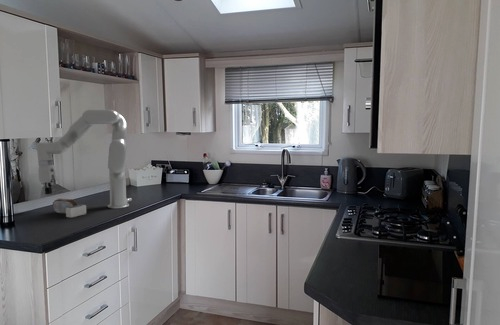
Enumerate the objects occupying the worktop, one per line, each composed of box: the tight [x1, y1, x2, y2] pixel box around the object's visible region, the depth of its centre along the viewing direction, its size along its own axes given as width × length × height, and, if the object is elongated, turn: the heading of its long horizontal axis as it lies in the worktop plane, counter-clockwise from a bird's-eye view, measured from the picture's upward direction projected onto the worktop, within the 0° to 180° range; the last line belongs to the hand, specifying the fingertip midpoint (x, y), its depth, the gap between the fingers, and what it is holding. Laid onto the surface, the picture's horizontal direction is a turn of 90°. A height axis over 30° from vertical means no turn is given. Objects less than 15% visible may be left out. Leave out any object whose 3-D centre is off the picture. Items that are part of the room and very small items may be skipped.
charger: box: [65, 204, 87, 218], centre depth 206 cm, size 10×4×5 cm, turn 154°
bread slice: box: [52, 198, 78, 215], centre depth 210 cm, size 15×3×8 cm, turn 77°
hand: (48, 193), depth 216 cm, fingers closed
